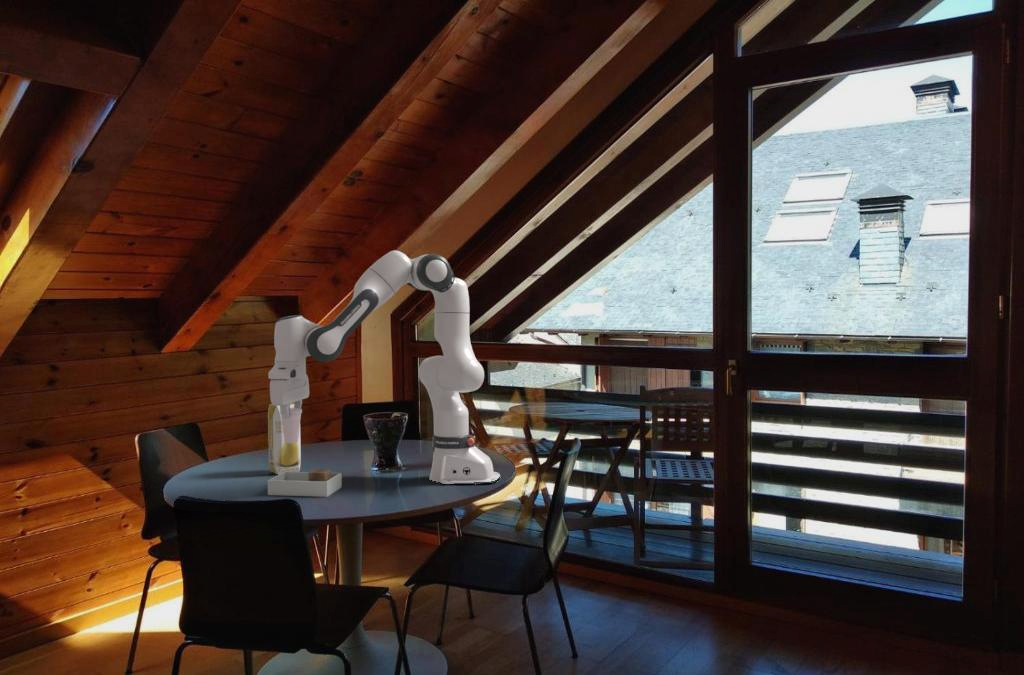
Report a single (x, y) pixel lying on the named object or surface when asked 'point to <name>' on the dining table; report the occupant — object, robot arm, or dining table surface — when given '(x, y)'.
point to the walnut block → (319, 475)
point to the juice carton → (281, 445)
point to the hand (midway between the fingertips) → (291, 417)
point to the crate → (303, 485)
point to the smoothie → (292, 425)
